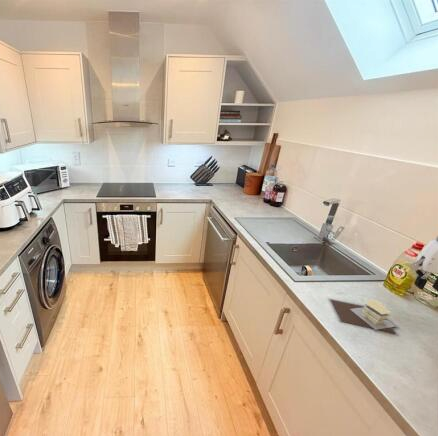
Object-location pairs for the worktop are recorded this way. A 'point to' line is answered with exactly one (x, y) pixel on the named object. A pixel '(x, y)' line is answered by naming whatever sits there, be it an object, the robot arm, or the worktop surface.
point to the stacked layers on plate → (374, 314)
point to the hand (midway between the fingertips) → (427, 287)
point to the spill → (353, 315)
